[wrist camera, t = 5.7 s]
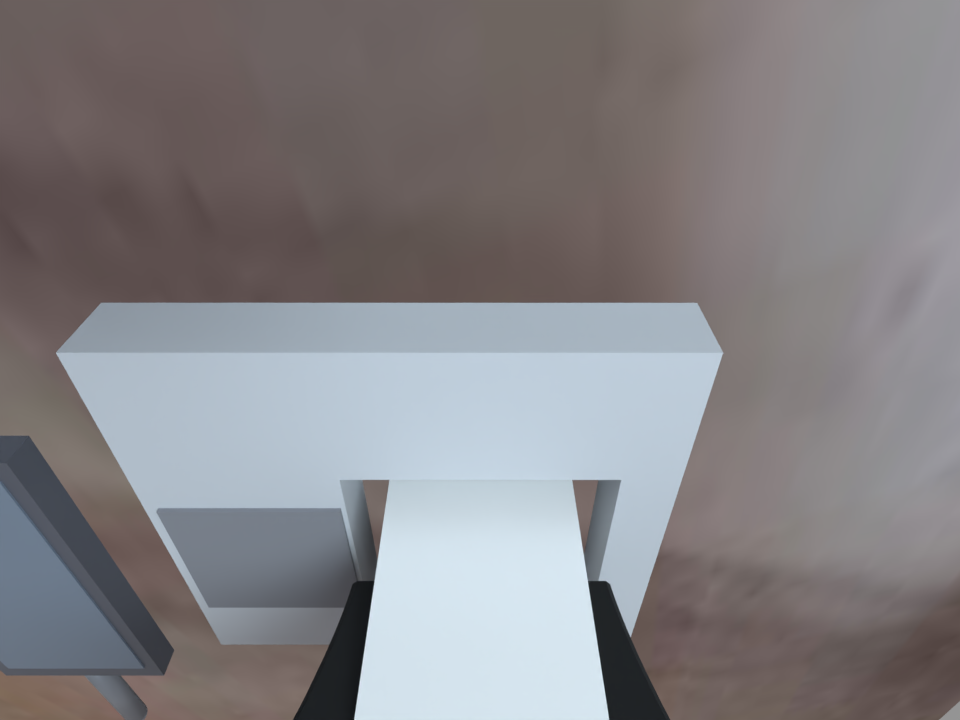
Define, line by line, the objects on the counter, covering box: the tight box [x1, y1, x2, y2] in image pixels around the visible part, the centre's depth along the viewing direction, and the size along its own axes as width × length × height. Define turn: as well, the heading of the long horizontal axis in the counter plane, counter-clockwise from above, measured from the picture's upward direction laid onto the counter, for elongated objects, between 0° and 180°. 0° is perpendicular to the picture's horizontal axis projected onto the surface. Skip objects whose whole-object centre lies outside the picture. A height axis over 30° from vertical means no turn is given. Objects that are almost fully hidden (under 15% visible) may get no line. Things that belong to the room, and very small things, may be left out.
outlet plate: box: [56, 303, 723, 645], centre depth 13 cm, size 11×10×2 cm
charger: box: [354, 480, 609, 720], centre depth 12 cm, size 4×4×7 cm
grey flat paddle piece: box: [0, 436, 174, 720], centre depth 17 cm, size 5×14×1 cm, turn 0°
